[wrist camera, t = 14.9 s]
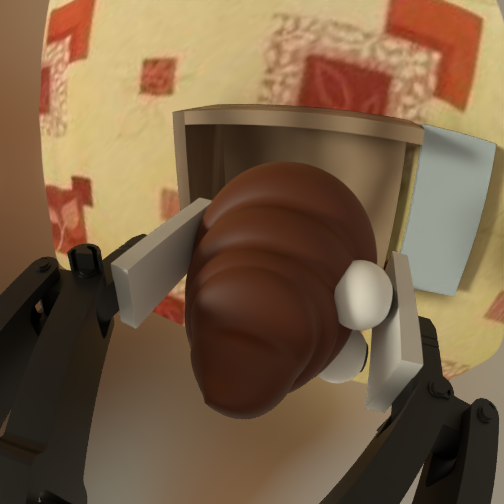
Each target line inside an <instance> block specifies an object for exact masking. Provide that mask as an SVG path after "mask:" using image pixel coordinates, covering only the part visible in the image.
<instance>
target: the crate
mask: <svg viewBox="0 0 504 504" xmlns="http://www.w3.org/2000/svg"><path fill="white" fill-rule="evenodd" d="M173 129H174V144H175V157H176V170H177V181H178V192H179V202H180V211H181V210H183V209H184V208H186V207H187V206H188V205H190V204H191V203H193V202H194V201H196V200H197V199H198V198H204V199H208V200H212V201H213V199H214V198H215V197H216V195H217V194H218V193H219V192H220V191H221V189H222V188H223V187H224V186H225V185H226V184H228V183H229V182H230V181H231V180H232V179H234V178H235V177H236V176H238V175H239V174H241V173H242V172H244V171H246V170H248V169H250V168H253V167H255V166H258V165H261V164H265V163H270V162H279V161H290V162H299V163H304V164H308V165H311V166H315V167H317V168H320V169H322V170H324V171H326V172H328V173H330V174H332V175H333V176H335V177H336V178H338V179H339V180H340V181H342V182H343V183H344V184H345V185H346V186H347V187H348V188H349V189H350V190H351V191H352V192H353V193H354V194H355V195H356V197H357V198H358V199H359V201H360V202H361V204H362V206H363V207H364V209H365V211H366V213H367V215H368V217H369V220H370V222H371V225H372V228H373V232H374V235H375V240H376V247H377V265H378V266H379V267H380V268H382V269H383V268H384V264H385V260H386V255H387V251H388V247H389V242H390V238H391V233H392V228H393V223H394V218H395V213H396V208H397V202H398V197H399V191H400V185H401V178H402V172H403V164H404V157H405V149H406V142H409V143H414V144H419V145H423V140H424V131H425V130H424V129H422V128H421V127H419V126H417V125H415V124H414V123H412V122H410V121H408V120H405V119H400V118H394V117H388V116H382V115H376V114H369V113H362V112H355V111H347V110H338V109H328V108H317V107H304V106H288V105H261V104H221V105H210V106H204V107H198V108H192V109H186V110H181V111H175V112H173ZM383 270H384V269H383Z"/></svg>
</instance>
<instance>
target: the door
mask: <svg viewBox="0 0 504 504" xmlns="http://www.w3.org/2000/svg"><path fill="white" fill-rule="evenodd" d="M422 129H424V130H425V131H424V140H423V145H420V151H419V158H418V165H417V172H416V178H415V184H414V190H413V195H412V201H411V206H410V211H409V216H408V220H407V225H406V230H405V234H404V238H403V242H402V247H401V251H400V253H401V254H404V255H407V256H408V261H409V266H410V271H411V276H412V282H413V287H414V289H419V290H424V291H429V292H434V293H439V294H444V295H449V296H454V295H455V292H456V290H457V287H458V285H459V282H460V280H461V277H462V274H463V272H464V269H465V266H466V263H467V260H468V258H469V255H470V252H471V249H472V246H473V242H474V239H475V236H476V233H477V229H478V226H479V222H480V219H481V215H482V211H483V207H484V204H485V199H486V195H487V191H488V186H489V182H490V177H491V172H492V167H493V161H494V155H495V149H496V144H495V143H493V142H490V141H487V140H483V139H480V138H477V137H473V136H470V135H467V134H463V133H459V132H456V131H452V130H448V129H444V128H440V127H435V126H431V125H427V124H423V125H422Z"/></svg>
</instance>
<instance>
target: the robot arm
mask: <svg viewBox="0 0 504 504" xmlns="http://www.w3.org/2000/svg"><path fill="white" fill-rule="evenodd" d="M211 202H212V200H208V199H204V198H198V199H197V200H196V201H194V202H193V203H191V204H190V205H188V206H187V207H186V208H184V209H183V210H181V211H180V212H179V213H177V214H176V215H174V216H173V217H172V218H170V219H169V220H167V221H166V222H165V223H163V224H162V225H161V226H159V227H158V228H157V229H155V230H154V231H152V232H151V233H150V234H148V235H145V234H141V235H138V236H136V237H133V238H131V239H130V240H129V241H127V242H126V243H125V244H124V245H122V246H121V247H119V249H116V250H115V251H114V252H112V253H111V254H110V255H109V256H107V257H106V258H105V259H103V260H102V256H101V250H100V248H99V247H98V246H96V245H94V244H81V245H77V246H75V247H73V248H71V249H70V250H69V251H68V252H67V253H68V258H69V262H70V267H71V271H70V270H62V269H60V268H59V264H58V261H57V260H56V259H55V258H53V257H42V258H40V259H38V260H36V261H34V262H33V263H32V264H31V265H30V266H29V267H28V268H27V269H26V270H25V271H24V272H23V273H22V274H20V275H19V276H18V277H17V278H16V279H15V280H14V281H13V282H12V284H11V285H10V286H9V287H8V288H7V289H6V290H5V291H4V292H3V293H2V294H1V295H0V428H1V426H2V424H3V422H4V421H5V419H6V417H7V415H8V414H9V412H10V410H11V413H10V416H9V420H8V423H7V426H6V430H5V432H4V435H3V436H2V437H0V504H87V493H86V489H85V486H84V482H83V475H84V468H85V459H86V452H87V446H88V440H89V433H90V427H91V422H92V416H93V411H94V406H95V401H96V396H97V392H98V387H99V382H100V378H101V373H102V369H103V365H104V361H105V357H106V353H107V349H108V345H109V342H110V338H111V334H112V330H113V327H114V318H113V316H114V315H115V314H116V313H117V312H118V311H119V313H120V318H121V321H122V322H124V323H126V324H128V325H130V326H132V327H134V328H136V329H137V328H138V326H139V325H140V324H141V323H142V322H143V321H144V320H145V318H147V316H148V315H149V314H150V313H151V312H152V311H153V310H154V309H155V308H156V307H157V305H158V304H159V303H160V302H161V301H162V300H163V299H164V298H165V297H166V296H167V294H168V293H169V292H170V291H171V290H172V289H173V288H174V287H175V286H176V285H177V284H178V282H179V281H180V280H181V279H182V278H183V277H184V276H185V275H186V274H187V273H188V269H189V265H190V262H191V258H192V251H193V245H194V241H195V237H196V234H197V231H198V228H199V225H200V223H201V220H202V218H203V216H204V214H205V212H206V210H207V209H208V207H209V205H210V204H211ZM385 273H386V274H387V275H388V277H389V279H390V281H391V283H392V284H393V286H394V292H395V296H394V303H393V307H392V310H391V313H390V314H389V316H388V317H387V318H385V319H384V320H383V321H382V322H381V323H380V324H378V325H377V326H375V327H373V328H372V340H371V355H370V367H369V378H368V388H367V397H366V405H365V409H370V410H373V411H378V412H383V413H385V411H386V410H387V409H388V408H389V407H390V406H391V405H392V411H391V415H390V417H389V418H388V419H387V420H386V421H385V422H384V423H383V424H382V425H381V426H380V427H379V428H378V429H377V431H378V433H377V434H376V436H375V437H374V438H373V440H372V441H371V442H370V444H369V445H368V446H367V448H366V449H365V450H364V452H363V453H362V454H361V456H360V457H359V458H358V459H357V461H356V462H355V463H354V464H353V466H352V467H351V468H350V469H349V471H348V472H347V473H346V474H345V476H344V477H343V478H342V479H341V480H340V481H339V483H338V484H337V485H336V486H335V487H334V488H333V489H332V490H331V492H330V493H329V494H328V495H327V496H326V497H325V498H324V499H323V500H322V501H321V502H320V503H319V504H400V502H401V501H402V499H403V497H404V496H405V494H406V493H407V491H408V490H409V488H410V486H411V485H412V483H413V481H414V479H415V478H416V476H417V474H418V473H419V471H420V469H421V467H422V465H423V463H424V465H423V469H422V473H421V476H420V480H419V483H418V486H417V489H416V492H415V496H414V499H413V502H412V504H491V498H492V493H493V486H494V479H495V472H496V463H497V451H498V435H499V415H498V411H497V409H496V407H495V406H494V405H493V403H492V402H490V401H489V400H487V399H483V398H480V399H476V400H475V401H474V402H473V403H472V404H471V405H470V404H468V403H466V402H464V401H462V400H460V399H459V398H457V397H455V396H454V391H453V387H452V385H451V384H450V382H449V381H448V380H447V379H446V378H445V377H444V376H443V374H442V366H441V358H440V351H439V349H438V348H439V345H438V341H437V333H436V328H435V327H434V325H433V323H432V322H431V320H430V319H427V318H424V317H420V316H418V312H417V306H416V299H415V293H414V287H413V282H412V276H411V271H410V266H409V261H408V256H407V255H404V254H401V253H398V252H395V251H392V254H391V256H390V259H389V261H388V264H387V266H386V269H385ZM38 302H40V305H41V307H42V308H41V310H39V311H38V312H37V310H36V308H35V305H36V304H37V303H38ZM11 408H12V409H11ZM39 497H40V500H41V502H38V500H39Z"/></svg>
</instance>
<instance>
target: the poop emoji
mask: <svg viewBox="0 0 504 504" xmlns="http://www.w3.org/2000/svg"><path fill="white" fill-rule="evenodd" d="M394 296H395V292H394V286H393V284H392V283H391V281H390V279H389V277H388V275H387V274H386V273H385V271H384V270H383V269H382V268H380V267H379V266H378V265H377V247H376V240H375V235H374V232H373V228H372V225H371V222H370V220H369V217H368V215H367V213H366V211H365V209H364V207H363V206H362V204H361V202H360V201H359V199H358V198H357V197H356V195H355V194H354V193H353V192H352V191H351V190H350V189H349V188H348V187H347V186H346V185H345V184H344V183H343V182H342V181H340V180H339V179H338V178H336V177H335V176H333V175H332V174H330V173H328V172H326V171H324V170H322V169H320V168H317V167H315V166H311V165H308V164H304V163H299V162H290V161H279V162H270V163H265V164H261V165H258V166H255V167H253V168H250V169H248V170H246V171H244V172H242V173H241V174H239V175H238V176H236V177H235V178H234V179H232V180H231V181H230V182H229V183H228V184H226V185H225V186H224V187H223V188H222V189H221V191H220V192H219V193H218V194H217V195H216V197H215V198H214V199H213V201H212V202H211V204H210V205H209V207H208V209H207V210H206V212H205V214H204V216H203V218H202V220H201V223H200V225H199V228H198V231H197V234H196V237H195V241H194V245H193V251H192V258H191V262H190V265H189V269H188V273H187V278H186V286H185V327H186V333H187V337H188V342H189V345H190V348H191V363H192V368H193V372H194V375H195V378H196V380H197V383H198V385H199V388H200V390H201V392H202V394H203V397H204V401H205V403H206V404H207V405H208V406H209V407H211V408H212V409H214V410H215V411H217V412H218V413H220V414H222V415H225V416H228V417H231V418H235V419H252V418H256V417H259V416H261V415H264V414H265V413H267V412H269V411H270V410H272V409H273V408H274V407H276V406H277V405H278V404H279V403H280V402H281V401H282V400H283V398H284V397H285V396H286V395H287V394H288V393H290V392H293V391H295V390H296V389H298V388H300V387H301V386H303V385H304V384H306V383H307V382H308V381H310V380H311V379H313V378H314V377H316V376H317V375H318V376H319V377H321V378H322V379H324V380H326V381H328V382H331V383H343V382H347V381H349V380H351V379H353V378H354V377H355V376H357V375H358V374H359V373H360V372H362V371H363V369H364V367H365V365H366V361H367V357H368V344H367V343H366V341H365V339H364V337H363V335H362V334H361V332H360V331H359V330H367V329H370V328H373V327H375V326H377V325H378V324H380V323H381V322H382V321H383V320H384V319H385V318H387V317H388V316H389V314H390V313H391V310H392V307H393V303H394Z"/></svg>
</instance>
